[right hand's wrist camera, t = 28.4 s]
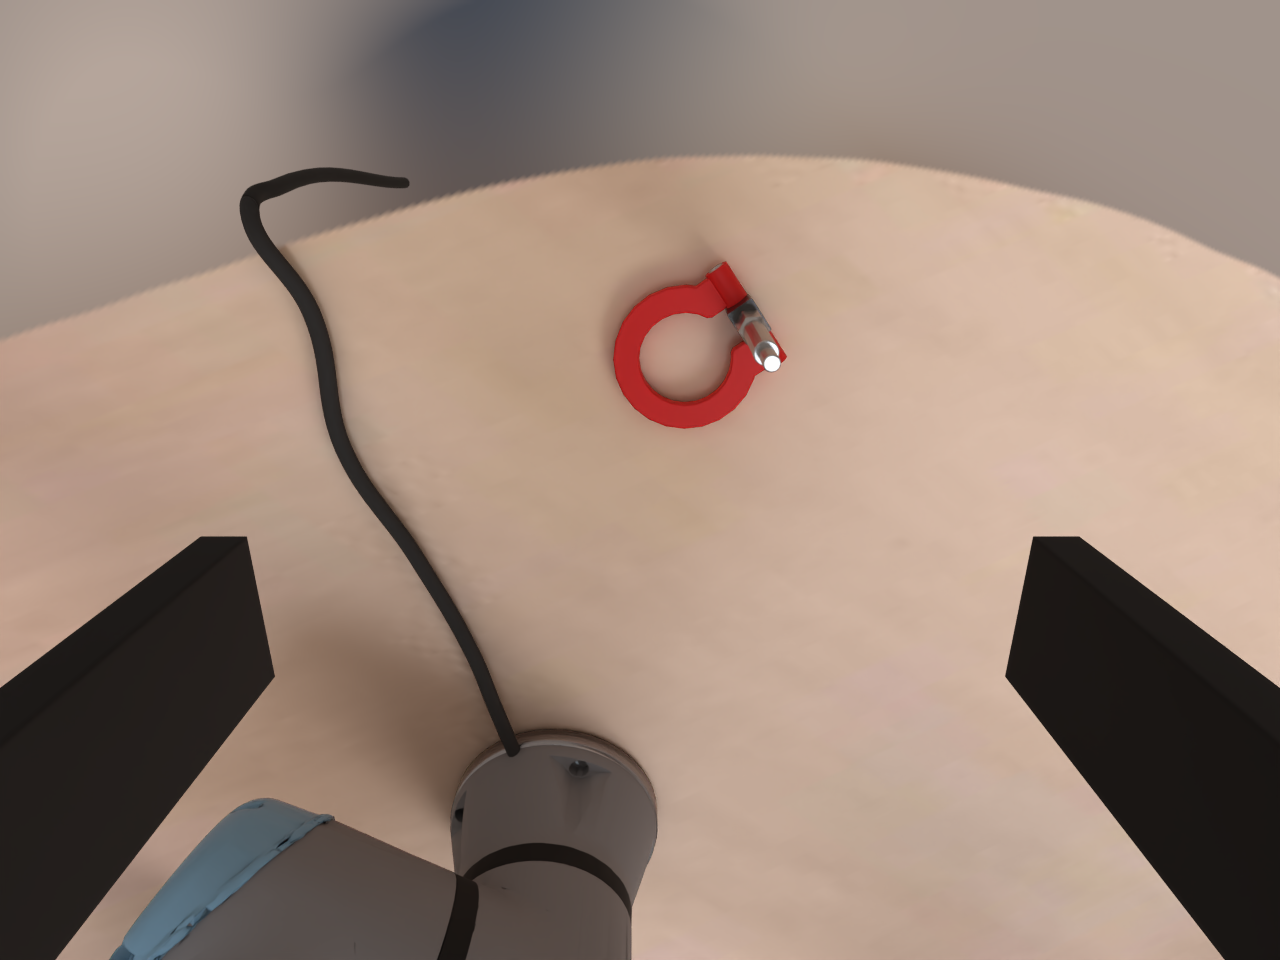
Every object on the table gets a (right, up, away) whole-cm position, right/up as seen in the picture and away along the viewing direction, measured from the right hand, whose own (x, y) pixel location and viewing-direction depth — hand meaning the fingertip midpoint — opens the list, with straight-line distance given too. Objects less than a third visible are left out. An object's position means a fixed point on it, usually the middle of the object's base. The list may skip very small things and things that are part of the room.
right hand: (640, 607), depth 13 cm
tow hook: (+3, +10, +32) cm, 33 cm away
